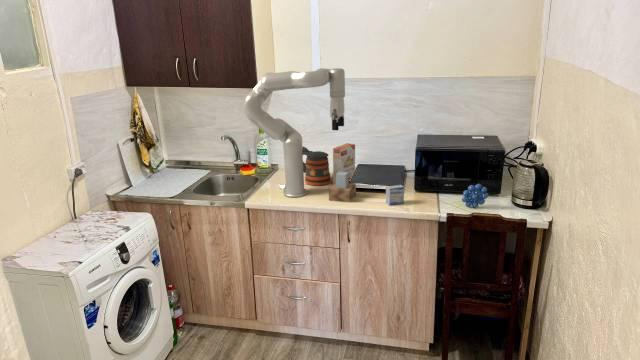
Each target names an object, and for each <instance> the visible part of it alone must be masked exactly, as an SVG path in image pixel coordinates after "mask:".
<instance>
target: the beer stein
mask: <svg viewBox="0 0 640 360" xmlns="http://www.w3.org/2000/svg"><path fill="white" fill-rule="evenodd" d="M302 154H303V156H304V155H305V156H306V158H305V162H304V161H303V173H304V183H305V184H306V185H309V186H313V187H321V186H326V185H329V184H330V183H331V182H332V179H331V178H332V177H331V172H330V162H329V154H328V153H327V152H325V151H321V150H320V151H319V150H317V151H314V150H313V151H312V150H309V149H308V148H307V147H306V146H303V145H302Z"/></svg>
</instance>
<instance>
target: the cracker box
mask: <svg viewBox="0 0 640 360" xmlns="http://www.w3.org/2000/svg"><path fill="white" fill-rule="evenodd" d="M332 166H333V167H332V171H333V172H332V173H333V174H332V175H333V178H332V180H333V184H334V183H335V182H336V174H337V173H338V172H348V183H349V184H350V182H349V180H350V179H351V177H352V175H353V173H354V172H355V173H356V144H354V143H344V144H342V145H338V146H335V147H333V148H332ZM333 184H332V185H333Z"/></svg>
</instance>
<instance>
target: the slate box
mask: <svg viewBox="0 0 640 360" xmlns="http://www.w3.org/2000/svg"><path fill="white" fill-rule="evenodd" d="M347 186H348V172H338V173H337V174H336V188H345V189H346V188H347Z"/></svg>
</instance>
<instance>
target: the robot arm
mask: <svg viewBox="0 0 640 360" xmlns="http://www.w3.org/2000/svg"><path fill="white" fill-rule="evenodd" d="M345 76H346V73H345V70H344V68H336V67H335V68H322V67H321V68H318V69H316V70H311V71H296V70H290V71H282V72H266V73H265V74H263V75H262V76H261V78H260V80H259V81H258V83H256V85H255V86H254V87H253V89H252V90H251V91H250V92H249V93H248V94H247V95H246V96H245V98H244V103H243V111H244V114H245V115H246V118H247V119H248V120H249V121H250V122H251V123H252V124H253V125H255V126H256V127H258V128H259V129H260V130H261V131H262V132H263V133H264V134H266V135H267V136H268V137H270V138H271V139H272V140H276V141H280V142H282V143H283V144H282V150H283V161H284V172H285V173H284V175H285V184H279V190H283V195H284V196H285V197H288V198H300V197H303V196H306V195H307V194H308V189H307V188H305V173H304V172H303V162H304V159H303V158H304V157H303V156H304V155H303V154H302V146H303V136H302V134H301V133H299V131H298V130H296V129H295V128H294V127H292V126H291V125H290V124H289V123H288V122H286V121H285V120H284V119H281V118H274V116H272V115H270V114H269V113H268V111H267V112H266V111H265V110H264V109H263V108H262V106H263V104H264V103H265V102H266V100H267V99H268V98H269V97H270V95H271V94H272V93H273V92H277V91H284V90H293V89H294V90H295V89H308V88H317V87H323V86H325V85H327V84H328V83H329V98H330V103H329V105H330V106H329V117H330V119H331V130H332V131H339V129H340V128H339V127H344V126H345V116H344V115H345V97H346V77H345Z"/></svg>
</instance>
